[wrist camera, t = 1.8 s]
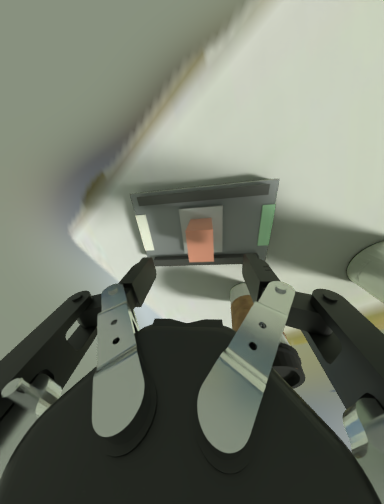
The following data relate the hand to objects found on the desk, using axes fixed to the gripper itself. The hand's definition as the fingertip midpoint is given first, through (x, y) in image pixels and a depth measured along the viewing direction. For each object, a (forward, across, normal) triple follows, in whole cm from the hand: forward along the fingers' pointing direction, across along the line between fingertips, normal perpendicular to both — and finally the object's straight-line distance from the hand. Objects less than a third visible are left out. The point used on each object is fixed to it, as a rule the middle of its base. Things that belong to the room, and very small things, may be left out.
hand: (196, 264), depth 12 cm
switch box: (+13, 0, 0) cm, 13 cm away
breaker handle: (+10, 0, 0) cm, 10 cm away
